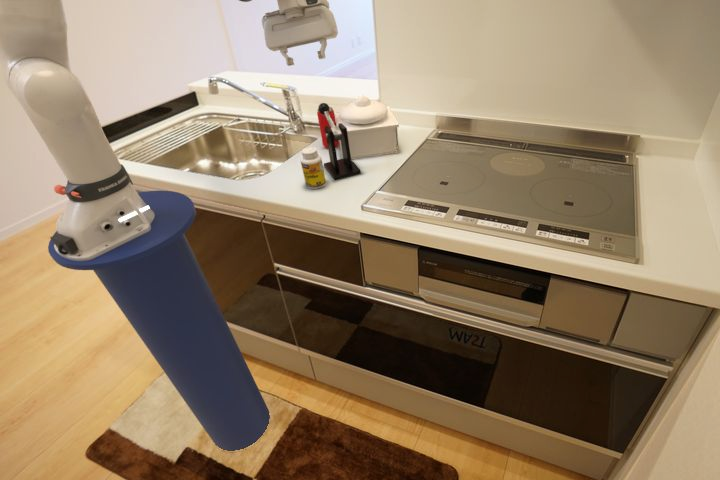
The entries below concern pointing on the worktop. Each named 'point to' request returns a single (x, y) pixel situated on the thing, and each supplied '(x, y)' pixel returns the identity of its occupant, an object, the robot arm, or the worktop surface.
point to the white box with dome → (369, 128)
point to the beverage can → (324, 123)
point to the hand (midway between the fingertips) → (306, 61)
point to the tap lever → (330, 121)
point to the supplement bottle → (312, 168)
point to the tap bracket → (341, 166)
